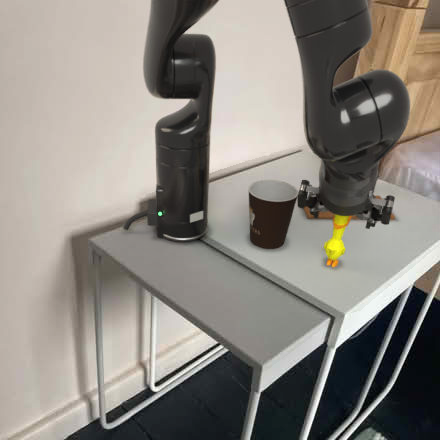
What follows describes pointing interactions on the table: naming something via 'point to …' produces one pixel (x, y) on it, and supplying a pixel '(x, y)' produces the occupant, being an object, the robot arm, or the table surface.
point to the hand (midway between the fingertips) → (342, 218)
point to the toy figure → (336, 240)
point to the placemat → (330, 215)
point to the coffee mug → (270, 212)
